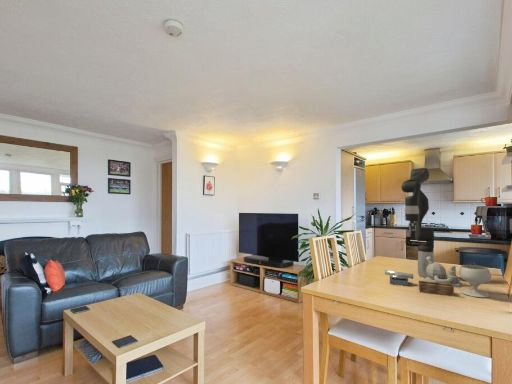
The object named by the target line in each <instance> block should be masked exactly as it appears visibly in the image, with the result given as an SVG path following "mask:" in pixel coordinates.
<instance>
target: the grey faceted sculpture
mask: <svg viewBox="0 0 512 384" xmlns="http://www.w3.org/2000/svg"><path fill="white" fill-rule="evenodd" d="M427 260H428V262H429V265H428V266H427V269H426V271H427V275H428V276H429V277H423V278H424V279H422V281H428V282H438V283H447V284H452V286H453V287H454V288H459V289H460V288H461V287H464V284H463V282H461V279H460V278H461V277H460V278H459V277H458V276H459V275H457V271H456V270H457V269H456V265H451V266H450V268H449V269H450V270H447V269H446V268H445V267H444V265H442V264H441V263H438V262H435V260H434V261H433V260H432V258H431V257H429V256H428V257H427ZM446 270H447V271H446Z"/></svg>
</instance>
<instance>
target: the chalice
mask: <svg viewBox="0 0 512 384" xmlns="http://www.w3.org/2000/svg"><path fill="white" fill-rule="evenodd" d="M458 276H459V277H460V278H461V279H462V280H463V281H464V280H465V281H464V282H466V281H467V283H469V284H470V285H471V286H472V289H464V290H461V293H462V294H464V295H467V296H470V297H473V298H474V297H475V298H490V296H491V295H490V294H489V293H487V292H484V291H480V290H478V287H479V286H480V285H483V284H484V285H485V284H486V283H489V282H490V281H491V279H492V274H491V271H490V269H489V268H488V267H486V266H482V265H477V264H475V265H474V264H470V265H469V264H462V265H460V267H459V270H458Z"/></svg>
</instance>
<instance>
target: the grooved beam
mask: <svg viewBox="0 0 512 384" xmlns="http://www.w3.org/2000/svg"><path fill="white" fill-rule="evenodd" d="M454 288H455V287H453V286H452V284H447V283H438V282H428V281H423V280H418V290H419V293H424V294H430V295H431V294H432V295H433V294H434V295H442V296H450V297H455V292H454V291H455V289H454Z"/></svg>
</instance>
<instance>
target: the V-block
mask: <svg viewBox="0 0 512 384" xmlns="http://www.w3.org/2000/svg"><path fill="white" fill-rule="evenodd" d="M389 285H393V286H394V285H396V286H401V285H402V286H403V287H409V278H408V277H405V276H396V275H389Z"/></svg>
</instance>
